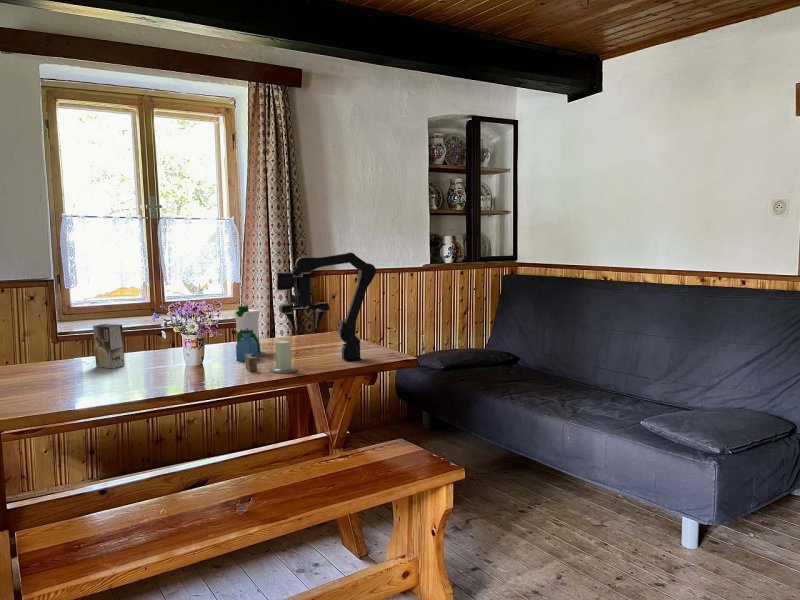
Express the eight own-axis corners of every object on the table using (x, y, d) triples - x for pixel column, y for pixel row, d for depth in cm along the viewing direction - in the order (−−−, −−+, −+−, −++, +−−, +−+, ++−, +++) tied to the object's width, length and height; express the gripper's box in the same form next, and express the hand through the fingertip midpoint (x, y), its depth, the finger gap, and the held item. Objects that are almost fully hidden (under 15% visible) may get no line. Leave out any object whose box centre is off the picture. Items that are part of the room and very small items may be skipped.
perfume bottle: (251, 361, 242) (250, 331, 240) (236, 360, 243) (235, 331, 242) (257, 358, 248) (256, 329, 246) (243, 357, 249) (242, 328, 248)
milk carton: (233, 353, 258) (231, 306, 256) (249, 349, 265) (247, 303, 263) (248, 355, 253) (246, 307, 251) (263, 351, 261) (262, 305, 258)
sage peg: (285, 366, 229) (285, 340, 228) (291, 368, 226) (290, 342, 225) (276, 368, 226) (275, 341, 225) (281, 370, 223) (280, 343, 222)
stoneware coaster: (293, 366, 233) (293, 364, 233) (300, 371, 224) (300, 370, 224) (267, 368, 229) (267, 367, 229) (273, 374, 220) (273, 372, 220)
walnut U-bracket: (252, 366, 233) (252, 353, 232) (257, 371, 225) (256, 357, 224) (245, 367, 232) (245, 354, 231) (249, 371, 224) (249, 358, 223)
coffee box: (125, 365, 236) (123, 324, 234) (112, 369, 230) (109, 327, 228) (108, 363, 239) (106, 323, 238) (94, 367, 234) (92, 325, 232)
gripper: (321, 286, 247) (322, 324, 249) (275, 288, 240) (276, 328, 242) (329, 289, 237) (330, 328, 239) (281, 291, 230) (282, 332, 232)
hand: (304, 329), depth 238 cm, fingers open, 9 cm apart
